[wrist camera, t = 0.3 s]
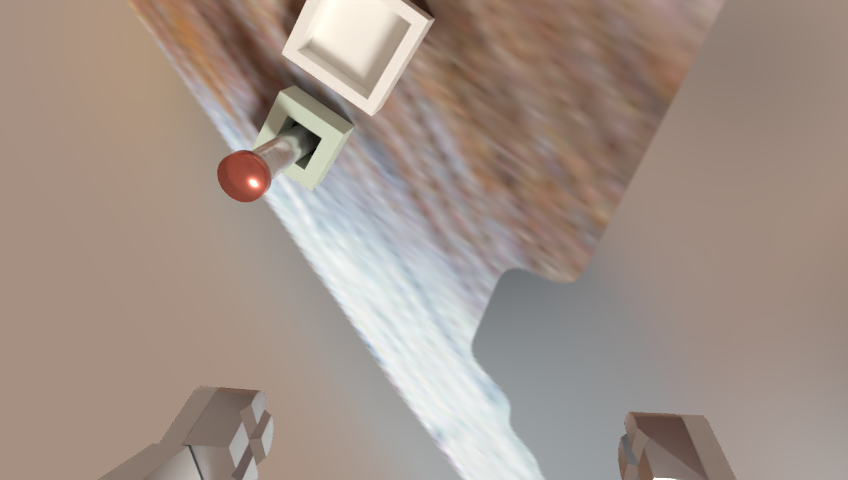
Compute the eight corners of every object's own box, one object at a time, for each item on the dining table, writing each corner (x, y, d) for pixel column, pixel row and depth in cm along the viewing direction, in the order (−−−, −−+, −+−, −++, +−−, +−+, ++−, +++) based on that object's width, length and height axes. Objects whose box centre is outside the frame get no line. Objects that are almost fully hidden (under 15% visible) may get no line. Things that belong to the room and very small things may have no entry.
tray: (343, -48, 50) (330, -51, 47) (434, 18, 51) (428, 20, 48) (296, 50, 55) (281, 53, 51) (381, 108, 56) (371, 116, 53)
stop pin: (290, 114, 58) (213, 152, 44) (326, 116, 58) (261, 156, 43) (293, 151, 60) (221, 199, 46) (328, 154, 60) (266, 204, 45)
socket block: (294, 85, 57) (279, 90, 53) (354, 126, 58) (343, 134, 54) (266, 142, 60) (250, 151, 57) (323, 180, 61) (311, 191, 58)
